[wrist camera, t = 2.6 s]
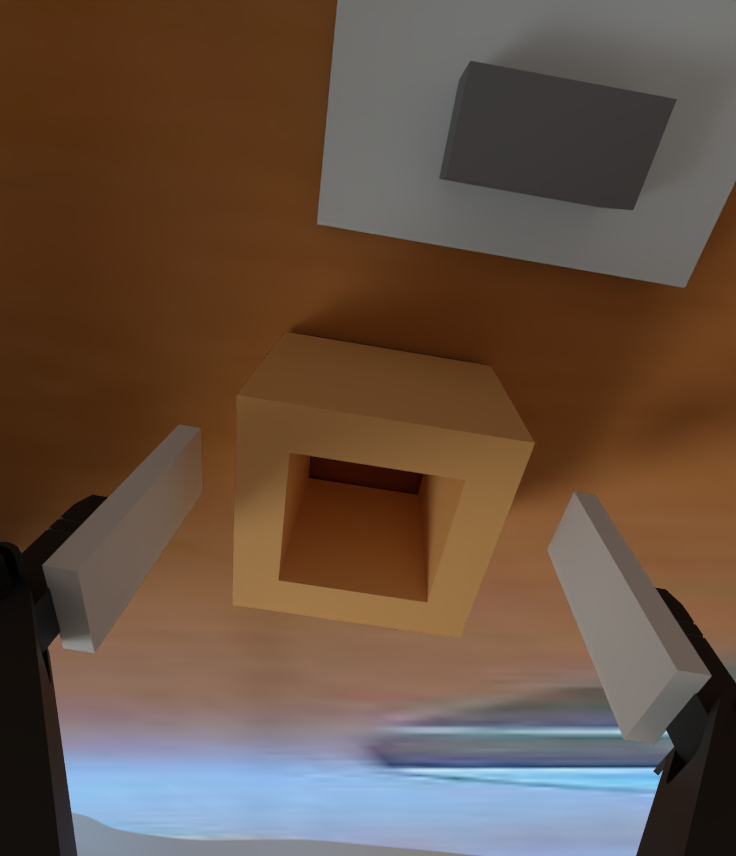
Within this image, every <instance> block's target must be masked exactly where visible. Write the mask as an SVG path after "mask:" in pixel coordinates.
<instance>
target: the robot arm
mask: <svg viewBox="0 0 736 856" xmlns="http://www.w3.org/2000/svg"><path fill="white" fill-rule="evenodd" d="M202 492H203V489H202V446H201V428H198V427H192V426H186V425H180V424H179V425H178V426H177V427H176V428H175V429H174V430H173V431H172V432H171V433H170V434H169V435H168V436H167V437H166V438H165V439H164V440H163V441H162V442H161V443H160V444H159V446H158V447H157V448H156V449H155V450H154V451H153V452H152V453H151V454H150V455H149V456H148V457H147V458H146V459H145V460H144V461H143V462H142V463H141V464H140V465H139V466H138V467H137V468H136V469H135V470H134V471H133V472H132V473H131V474H130V475H129V476H128V477H127V478H126V479H125V480H124V482H123V483H122V484H121V485H120V486H119V487H118V488H117V489H116V490H115V491H114V492H113V493H112V494H111V495H110V496H109V497H103V496H97V495H91V496H89V497H87V498H85V499H83V500H81V501H80V502H78V503H76V504H74V505H73V506H72V507H71V508H69V509H68V510H67V511H66V512H65V513H64V514H63V515H62V516H61V517H60V520H57V521H56V522H55V523H54V524H52V525H51V526H50V527H49V530H48V531H47V530H46V531H45V532H44V533H43V534H42V535H41V536H40V537H39V538H38V539H37V540H36V541H34V542H33V543H32V544H31V545H30V546H29V547H28V548H27V549H26V550H25V551H24V552H23V553H22V554H21V552H20V550H19V548H18V547H17V546H15V545H13V544H11V543H9V542H0V856H77V850H76V843H75V837H74V828H73V821H72V815H71V807H70V799H69V792H68V785H67V778H66V770H65V763H64V756H63V749H62V741H61V734H60V727H59V720H58V712H57V705H56V698H55V691H54V683H53V676H52V669H51V662H50V654H49V651H48V646H49V645H50V644H51V642H52V641H53V640H54V639H55V637H56V636H57V635H58V634H60V638H61V642H62V646H63V648H65V649H72V650H78V651H84V652H90V653H95V652H96V650H97V649H98V647H99V646H100V644H101V643H102V641H103V640H104V638H105V637H106V635H107V634H108V632H109V631H110V629H111V628H112V626H113V625H114V623H115V622H116V620H117V619H118V618H119V616H120V615H121V613H122V612H123V610H124V609H125V607H126V606H127V604H128V603H129V601H130V600H131V598H132V597H133V595H134V594H135V592H136V591H137V589H138V588H139V586H140V585H141V583H142V582H143V580H144V579H145V577H146V576H147V574H148V573H149V571H150V570H151V568H152V567H153V565H154V564H155V562H156V561H157V559H158V558H159V556H160V555H161V553H162V552H163V550H164V549H165V548H166V546H167V545H168V543H169V542H170V540H171V539H172V537H173V536H174V534H175V533H176V531H177V530H178V528H179V527H180V525H181V524H182V522H183V521H184V519H185V518H186V516H187V515H188V513H189V512H190V510H191V509H192V507H193V506H194V504H195V503H196V501H197V500H198V498H199V497H200V495H201V494H202ZM547 551H548V554H549V556H550V559H551V561H552V564H553V566H554V568H555V571H556V573H557V576H558V578H559V581H560V583H561V586H562V588H563V591H564V593H565V595H566V598H567V600H568V603H569V605H570V608H571V610H572V613H573V615H574V618H575V620H576V623H577V625H578V627H579V630H580V632H581V635H582V637H583V640H584V642H585V645H586V647H587V650H588V652H589V654H590V657H591V659H592V662H593V664H594V667H595V669H596V672H597V674H598V677H599V679H600V682H601V684H602V686H603V689H604V691H605V694H606V696H607V699H608V701H609V704H610V706H611V709H612V711H613V713H614V716H615V718H616V721H617V723H618V726H619V728H620V731H621V733H622V736H623V738H624V740H630V741H636V742H642V743H648V744H655V743H656V742H657V741H658V740H659V739H660V737H661V736H662V735H663V734H664V733H665V731H666V730H667V732H668V734H669V736H670V738H671V741H672V743H673V745H674V748H673V749H672V750H671V751H670V752H669V753H668V755H667V756H666V757H665V758H664V759H663V760H662V761H661V763H660V764H659V765H658V766H657V767H656V769H655V770H654V772H655V773H656V774H657V775H659V774H660V773H661V772H662V770H663V772H662V775H661V778H660V781H659V785H658V788H657V791H656V794H655V797H654V801H653V804H652V807H651V810H650V813H649V817H648V820H647V823H646V826H645V829H644V833H643V836H642V839H641V842H640V845H639V849H638V852H637V855H636V856H736V683H735V681H734V680H733V678H732V677H731V675H730V674H729V672H728V671H727V670H726V668H725V667H724V665H723V664H722V662H721V661H720V659H719V658H718V656H717V655H716V653H715V652H714V650H713V649H712V648H711V646H710V645H709V643H708V642H707V640H706V639H705V638H703V634H702V633H701V631H700V630H699V629H698V627H697V626H696V625H694V624H693V622H694V621H693V620H692V618H691V617H690V615H689V614H688V612H687V611H686V609H685V608H684V607H683V605H682V604H681V603H680V602H679V601H678V600H677V599H675V598H674V597H673V596H672V595H671V594H670V593H669V592H668V591H667V590H666V589H660V588H655V587H654V585H653V584H652V582H651V580H650V579H649V577H648V576H647V574H646V573H645V571H644V570H643V568H642V566H641V565H640V563H639V562H638V560H637V559H636V557H635V556H634V554H633V552H632V551H631V549H630V548H629V546H628V545H627V543H626V542H625V540H624V538H623V537H622V535H621V534H620V532H619V531H618V529H617V528H616V526H615V524H614V523H613V521H612V520H611V518H610V517H609V515H608V514H607V512H606V510H605V509H604V507H603V506H602V504H601V503H600V501H599V500H598V498H597V496H596V495H594V494H588V493H582V492H576V491H574V492H573V494H572V496H571V499H570V501H569V503H568V505H567V507H566V510H565V512H564V514H563V516H562V518H561V521H560V523H559V525H558V527H557V529H556V531H555V534H554V536H553V538H552V540H551V542H550V545H549V547H548V549H547Z"/></svg>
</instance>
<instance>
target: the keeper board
mask: <svg viewBox="0 0 736 856" xmlns="http://www.w3.org/2000/svg"><path fill="white" fill-rule="evenodd" d="M735 182H736V0H337V11H336V22H335V33H334V44H333V54H332V65H331V76H330V87H329V98H328V109H327V119H326V130H325V141H324V152H323V163H322V174H321V184H320V195H319V206H318V217H317V224H319V225H325V226H331V227H336V228H342V229H348V230H354V231H359V232H365V233H371V234H377V235H382V236H388V237H394V238H400V239H406V240H411V241H417V242H423V243H429V244H434V245H440V246H446V247H452V248H457V249H463V250H469V251H475V252H481V253H486V254H492V255H498V256H504V257H509V258H515V259H521V260H527V261H533V262H538V263H544V264H550V265H556V266H561V267H567V268H573V269H579V270H584V271H590V272H596V273H602V274H608V275H613V276H619V277H625V278H631V279H636V280H642V281H648V282H654V283H659V284H665V285H671V286H677V287H683V288H685V287H686V285H687V282H688V280H689V278H690V276H691V274H692V272H693V270H694V268H695V266H696V264H697V261H698V259H699V257H700V255H701V253H702V251H703V249H704V247H705V245H706V243H707V240H708V238H709V236H710V234H711V232H712V230H713V228H714V226H715V224H716V222H717V219H718V217H719V215H720V213H721V211H722V209H723V207H724V205H725V203H726V201H727V199H728V196H729V194H730V192H731V190H732V188H733V186H734V184H735Z"/></svg>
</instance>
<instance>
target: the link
mask: <svg viewBox="0 0 736 856" xmlns="http://www.w3.org/2000/svg"><path fill="white" fill-rule="evenodd" d="M534 445H535V442H534V440H533V439H532V437H531V435H530V433H529V431H528V430H527V428H526V426H525V424H524V423H523V421H522V419H521V417H520V416H519V414H518V412H517V410H516V409H515V407H514V405H513V403H512V402H511V400H510V398H509V396H508V395H507V393H506V391H505V389H504V388H503V386H502V384H501V382H500V381H499V379H498V377H497V375H496V374H495V372H494V370H493V368H492V367H491V366H489V365H483V364H477V363H471V362H465V361H459V360H453V359H447V358H441V357H435V356H429V355H423V354H417V353H411V352H405V351H398V350H392V349H386V348H380V347H374V346H368V345H362V344H356V343H350V342H344V341H338V340H332V339H326V338H320V337H314V336H308V335H302V334H296V333H290V332H284V334H283V335H282V336H281V338H280V339H279V340H278V341H277V343H276V344H275V345H274V347H273V348H272V349H271V351H270V352H269V353H268V354H267V356H266V357H265V358H264V360H263V361H262V362H261V364H260V365H259V366H258V368H257V369H256V370H255V371H254V373H253V374H252V375H251V377H250V378H249V379H248V381H247V382H246V383H245V385H244V386H243V387H242V388H241V390H240V391H239V392H238V394H237V395H236V447H235V504H234V560H233V605H236V606H243V607H250V608H257V609H264V610H270V611H277V612H284V613H291V614H298V615H305V616H311V617H318V618H325V619H332V620H339V621H346V622H352V623H359V624H366V625H373V626H380V627H387V628H393V629H400V630H407V631H414V632H421V633H428V634H434V635H441V636H448V637H455V638H460V637H461V635H462V632H463V630H464V627H465V624H466V622H467V619H468V617H469V614H470V611H471V609H472V606H473V604H474V601H475V598H476V596H477V593H478V591H479V588H480V585H481V583H482V580H483V578H484V575H485V572H486V570H487V567H488V565H489V562H490V559H491V557H492V554H493V551H494V549H495V546H496V544H497V541H498V538H499V536H500V533H501V531H502V528H503V525H504V523H505V520H506V518H507V515H508V512H509V510H510V507H511V505H512V502H513V499H514V497H515V494H516V492H517V489H518V486H519V484H520V481H521V479H522V476H523V473H524V471H525V468H526V466H527V463H528V460H529V458H530V455H531V453H532V450H533V447H534ZM311 456H314V457H321V458H327V459H333V460H340V461H346V462H352V463H359V464H365V465H371V466H378V467H384V468H391V469H397V470H403V471H410V472H416V473H422V474H423V478H422V482H421V485H420V489H419V493H418V495H415V494H409V493H402V492H396V491H389V490H383V489H377V488H370V487H364V486H357V485H351V484H345V483H338V482H332V481H325V480H319V479H312V478H308V477H309V468H310V459H311Z"/></svg>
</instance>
